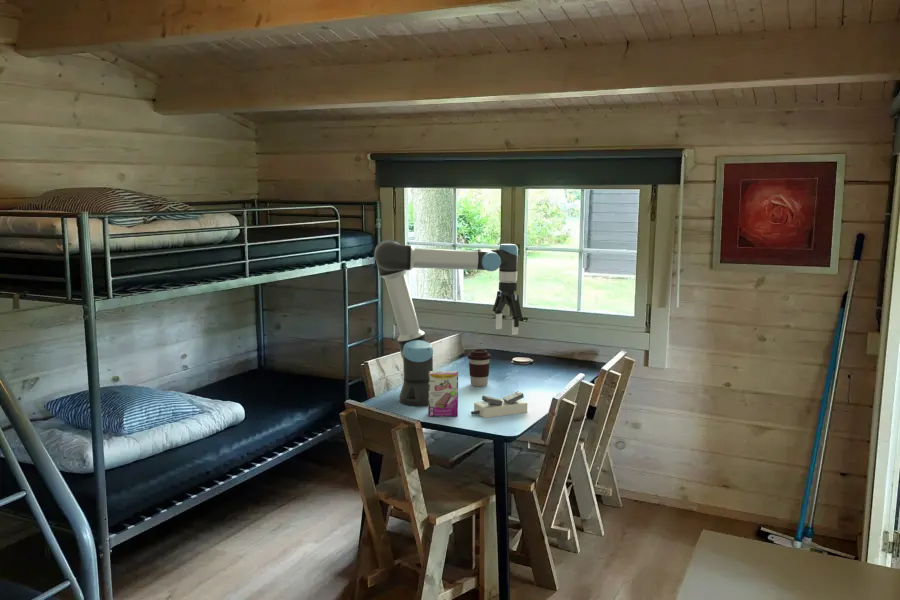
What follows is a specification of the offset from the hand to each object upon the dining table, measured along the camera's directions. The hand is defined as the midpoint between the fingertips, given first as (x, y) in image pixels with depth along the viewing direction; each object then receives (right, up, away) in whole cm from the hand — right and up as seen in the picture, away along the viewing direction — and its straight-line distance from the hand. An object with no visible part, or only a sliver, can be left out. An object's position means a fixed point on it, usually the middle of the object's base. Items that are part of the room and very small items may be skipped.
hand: (506, 331), depth 306 cm
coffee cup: (-11, -24, +11) cm, 28 cm away
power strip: (-6, -29, -29) cm, 42 cm away
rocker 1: (-8, -24, -33) cm, 41 cm away
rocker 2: (0, -24, -29) cm, 38 cm away
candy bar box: (-26, -30, -32) cm, 51 cm away
